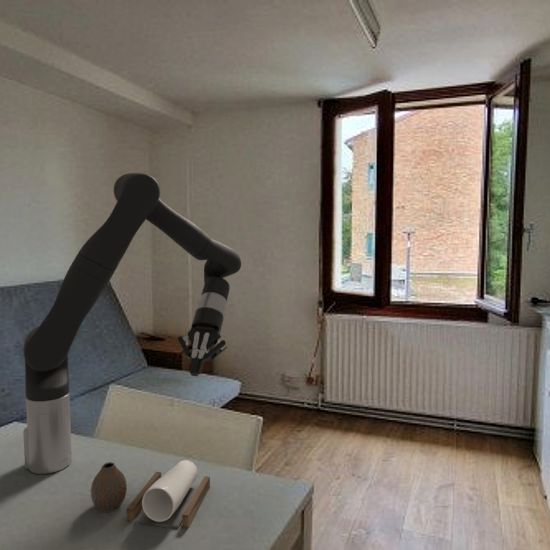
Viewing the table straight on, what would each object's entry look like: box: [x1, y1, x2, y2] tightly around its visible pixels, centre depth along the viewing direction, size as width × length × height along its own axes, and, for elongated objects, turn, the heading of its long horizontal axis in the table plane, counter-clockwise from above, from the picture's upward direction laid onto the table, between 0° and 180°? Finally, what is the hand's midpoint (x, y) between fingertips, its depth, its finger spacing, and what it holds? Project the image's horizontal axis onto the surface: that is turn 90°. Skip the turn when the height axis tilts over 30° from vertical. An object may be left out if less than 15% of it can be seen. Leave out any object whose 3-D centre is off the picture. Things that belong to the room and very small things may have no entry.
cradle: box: [126, 471, 211, 529], centre depth 96 cm, size 12×14×2 cm
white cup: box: [142, 459, 198, 522], centre depth 96 cm, size 7×7×15 cm
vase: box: [90, 461, 128, 513], centre depth 94 cm, size 7×7×9 cm
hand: (194, 374), depth 112 cm, fingers closed
